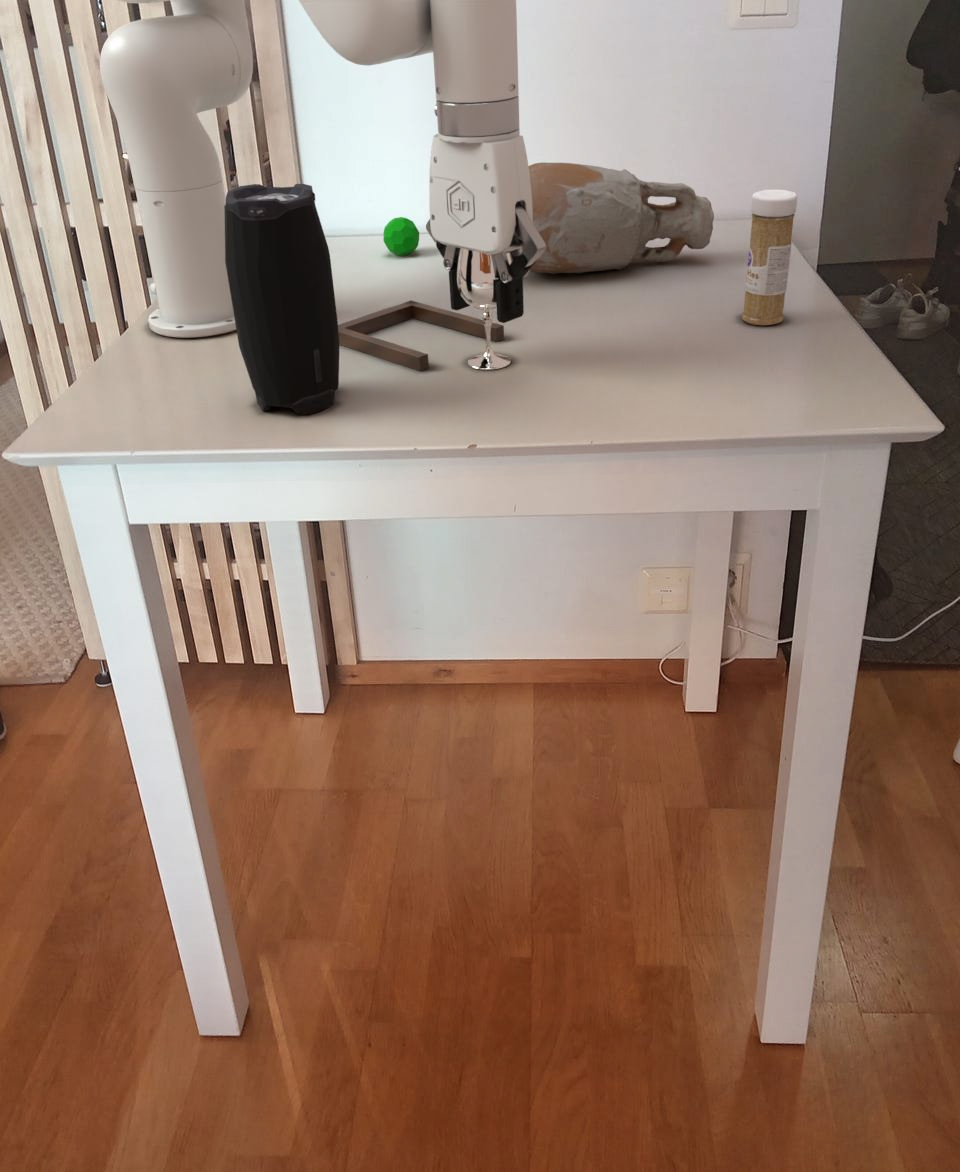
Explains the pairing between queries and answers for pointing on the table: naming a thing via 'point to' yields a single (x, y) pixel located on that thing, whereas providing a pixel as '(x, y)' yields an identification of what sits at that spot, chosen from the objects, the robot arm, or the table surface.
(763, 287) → the sprinkles bottle
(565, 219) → the amphora
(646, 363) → the table surface
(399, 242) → the polyhedron
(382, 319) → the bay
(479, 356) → the wineglass
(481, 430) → the table surface
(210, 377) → the table surface
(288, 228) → the portable speaker
